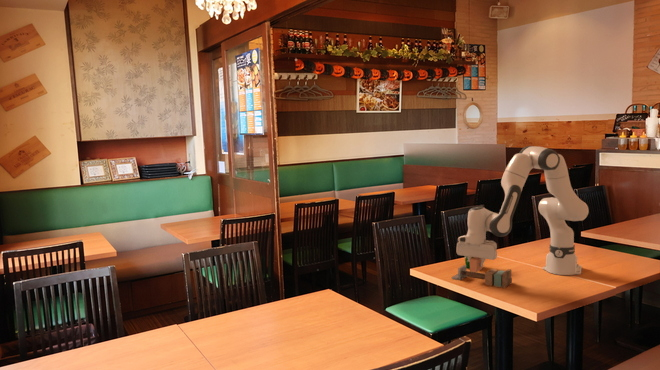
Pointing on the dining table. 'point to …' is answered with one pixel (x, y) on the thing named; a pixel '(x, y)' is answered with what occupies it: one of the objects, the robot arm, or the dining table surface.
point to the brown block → (490, 277)
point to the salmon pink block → (475, 264)
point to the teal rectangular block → (498, 278)
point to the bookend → (460, 273)
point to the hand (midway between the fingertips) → (476, 265)
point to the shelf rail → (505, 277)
